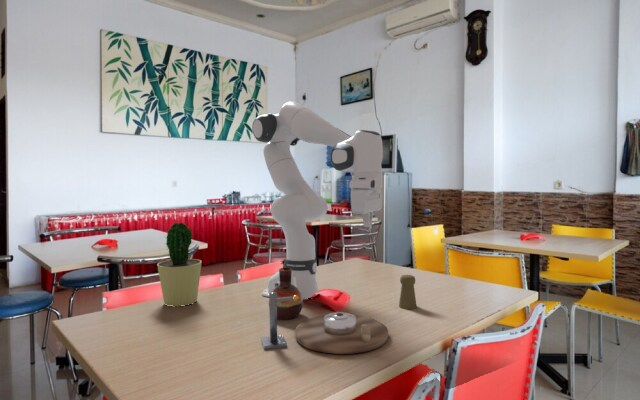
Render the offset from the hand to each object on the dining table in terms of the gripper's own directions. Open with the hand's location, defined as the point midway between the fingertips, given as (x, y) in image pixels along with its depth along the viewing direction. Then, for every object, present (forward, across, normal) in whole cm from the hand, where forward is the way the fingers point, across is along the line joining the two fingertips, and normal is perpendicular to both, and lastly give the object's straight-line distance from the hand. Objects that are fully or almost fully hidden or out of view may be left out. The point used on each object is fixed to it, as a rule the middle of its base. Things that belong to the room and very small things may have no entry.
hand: (367, 226), depth 127 cm
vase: (+30, +7, -25) cm, 40 cm away
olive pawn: (+30, -18, +9) cm, 36 cm away
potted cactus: (+31, +9, -68) cm, 75 cm away
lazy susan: (+29, +17, -2) cm, 34 cm away
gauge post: (+30, +28, -15) cm, 43 cm away
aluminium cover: (+27, +17, -2) cm, 32 cm away
